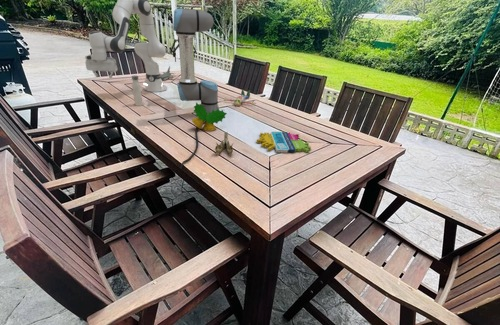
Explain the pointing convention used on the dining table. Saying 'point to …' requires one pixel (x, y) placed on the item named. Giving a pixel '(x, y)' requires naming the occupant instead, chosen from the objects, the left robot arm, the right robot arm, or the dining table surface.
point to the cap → (134, 77)
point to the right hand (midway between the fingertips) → (184, 61)
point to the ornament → (207, 117)
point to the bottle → (137, 93)
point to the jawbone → (224, 145)
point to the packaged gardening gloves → (283, 142)
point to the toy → (241, 99)
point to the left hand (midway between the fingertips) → (104, 77)
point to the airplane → (166, 74)
